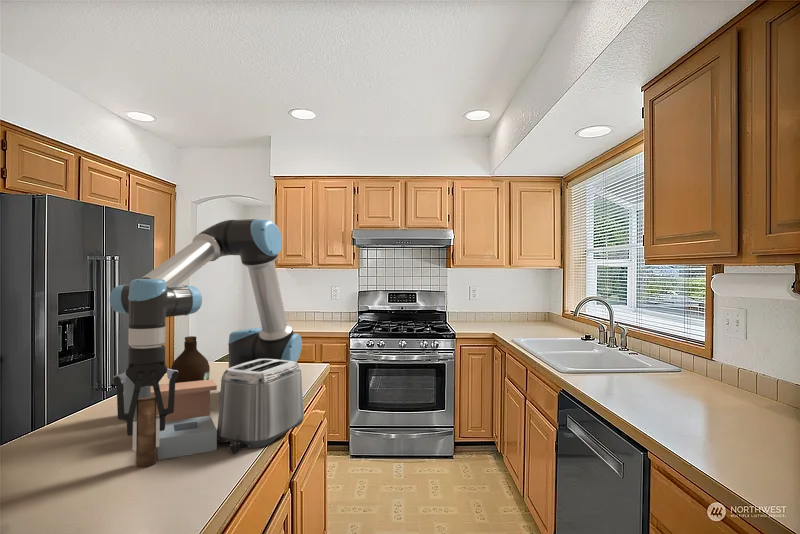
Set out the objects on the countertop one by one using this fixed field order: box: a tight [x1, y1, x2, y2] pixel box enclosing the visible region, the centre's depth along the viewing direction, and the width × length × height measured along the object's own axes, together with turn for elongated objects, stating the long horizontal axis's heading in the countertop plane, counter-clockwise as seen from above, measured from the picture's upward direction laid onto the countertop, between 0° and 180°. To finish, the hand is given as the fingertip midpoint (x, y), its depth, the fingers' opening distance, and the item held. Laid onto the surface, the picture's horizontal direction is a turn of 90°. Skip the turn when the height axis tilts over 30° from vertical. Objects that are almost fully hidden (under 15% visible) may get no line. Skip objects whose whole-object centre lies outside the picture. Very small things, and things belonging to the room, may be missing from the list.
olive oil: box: [170, 335, 211, 383], centre depth 139 cm, size 11×11×25 cm
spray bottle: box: [123, 368, 151, 419], centre depth 143 cm, size 9×9×25 cm
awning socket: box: [150, 378, 218, 461], centre depth 123 cm, size 16×20×13 cm
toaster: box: [216, 359, 305, 455], centre depth 129 cm, size 17×30×19 cm, turn 161°
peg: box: [135, 397, 157, 469], centre depth 108 cm, size 4×4×15 cm
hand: (146, 446), depth 108 cm, fingers closed on peg, 4 cm apart
